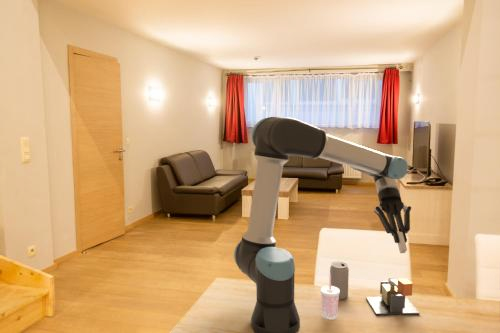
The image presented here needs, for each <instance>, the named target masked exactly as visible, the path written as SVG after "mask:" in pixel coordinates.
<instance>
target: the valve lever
mask: <svg viewBox="0 0 500 333" xmlns="http://www.w3.org/2000/svg"><path fill="white" fill-rule="evenodd" d="M387 281H388V284H389V285H391V286H396V287H397V291H398V292H399V293H400V294H401V295H402V296H406V297H409V296H413V284H414V283H413V282H411V281H410V280H409V279H408V278H406V277H405V278H398V279H396V278H393V277H390V278H388V280H387Z"/></svg>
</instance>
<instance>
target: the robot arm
mask: <svg viewBox="0 0 500 333" xmlns="http://www.w3.org/2000/svg"><path fill="white" fill-rule="evenodd" d="M251 141H252V144H253V145H254V152H253V153H254V154H253V155H254V158H255V159H256V161H257V164H256V172H255V179H254V185H253V192H252V198H251V206H250V212H249V219H248V224H247V231H246V232H244V233H242V236H241V240H240V241H239V242H238V243H237V245H236V246H235V249H234V252H233V256H234V261H235V264H236V265H237V267H238V269H239V270H240V271H241V273H243V274H244V275H246V277H248V278H249V279H250V280H251V281H253V283H254V284H255V286H256V288H255V289H256V302H255V305H254V308H253V311H252V314H251V318H250V319H251V320H250V324H251V326H250V327H251V328H252V330H253V332H254V333H298V332H299V330H300V328H301V327H300V326H301V319H300V315H299V312H298V309H297V307H296V306H297V305H296V303H295V272H296V267H295V259H294V256H293V254H292V253H291V252H289V251H288V250H287V249H284V248H282V247H281V248H280V247H277V246H276V245H277V239H276V238H275V237H274V233H273V232H274V228H275V227H274V226H275V221H276V216H277V208H278V201H279V195H280V190H281V183H282V182H281V181H282V176H283V170H284V165H285V164H286V163H288V162H289V160H290V156H292V157H293V156H294V157H296V156H297V157H303V158H308V159H311V160H317V159H319V158H320V159H322V160H327V161H330V162H332V163H336V164H340V165H344V166H346V167H347V166H348V167H350V168H352V169H353V170H354V171H358V172H360V173H362V174H365V175H367V176H369V177H372V178H373V181H374V183H375V184H374V185H375V188H376V193H377V197H378V201H379V206H375V209H374V213H375V214H376V215H377V216H378V218H379V220H380V223H381V224H382V226H383V228H384V230H385V232H386V233H387V234H390V235H391V236H392V238H393V240H394V241H393V242H394V243H395V244H397V246H398V250H399V253H400V254H405V253H406V252H407V250H408V248H407V244H406V243H407V242H408V239H407V234H408V233H409V231H410V230H411V210H412V206H410V205H409V206H407V205H405V204H404V202H403V201H402V198H401V193H400V190H399V186H398V183H397V180H402V179H403V178H404V177H405V176H406V175H407V174H408V173H407V172H408V169H409V165H408V162H407V160H406V159H405V158H404V157H401V156H397V155H390V154H387V153H383V152H381V151H378V150H374V149H372V148H370V147H369V148H368V147H366V146H362V145H359V144H357V143H354V142H351V141H348V140H345V139H341V138H339V137H336V136H334V135H330V134H327V133H326V131H325V130H324V129H322V128H319V127H317V126H314V125H312V124H310V123H307V122H304V121H302V120H299V119H297V118H293V117H280V116H279V117H278V116H270V117H268V116H267V117H265V118H263V119H260V120H259V121H258V122H256V124H255V125H254V127H253V128H252V131H251ZM402 211H403V213H404V214H403V216H402V213H401V212H402ZM402 217H403V218H402Z"/></svg>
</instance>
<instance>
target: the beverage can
mask: <svg viewBox="0 0 500 333" xmlns="http://www.w3.org/2000/svg"><path fill="white" fill-rule="evenodd" d="M349 268H350V267H349V266H348V264H347V263H346V262H343V261H333V262H332V263H331V265H330V268H329V276H330V275H331V286H335V287H337V288H339V290H340V294H339V299H338V301H339V300H341V301H342V300H345V299H346V298H348V296H349V277H350V276H349V271H350V269H349Z"/></svg>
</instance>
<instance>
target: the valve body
mask: <svg viewBox="0 0 500 333" xmlns="http://www.w3.org/2000/svg"><path fill="white" fill-rule="evenodd" d="M379 286H380V287H379V289H380V290H379V294H380V295H381V296H365V299H366V301H367V303H368V305H369V307H370V309H371V310H372V312H373V313H374V314H375V316H376V317H383V316H384V317H385V316H386V317H387V316H388V317H389V316H391V317H394V316H420V313H421V312H420V311H419V310H418V309H417V308H416V306H415V305H414V304H413V303H412V302H411V301H410V300H409V299H408V296H402V295H401V294H400V293H399V292H398V291H397V287H396V286H391V285H389V284H388V280H385V281H384V280H383V281H382V280H381V281H380V284H379Z"/></svg>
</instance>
